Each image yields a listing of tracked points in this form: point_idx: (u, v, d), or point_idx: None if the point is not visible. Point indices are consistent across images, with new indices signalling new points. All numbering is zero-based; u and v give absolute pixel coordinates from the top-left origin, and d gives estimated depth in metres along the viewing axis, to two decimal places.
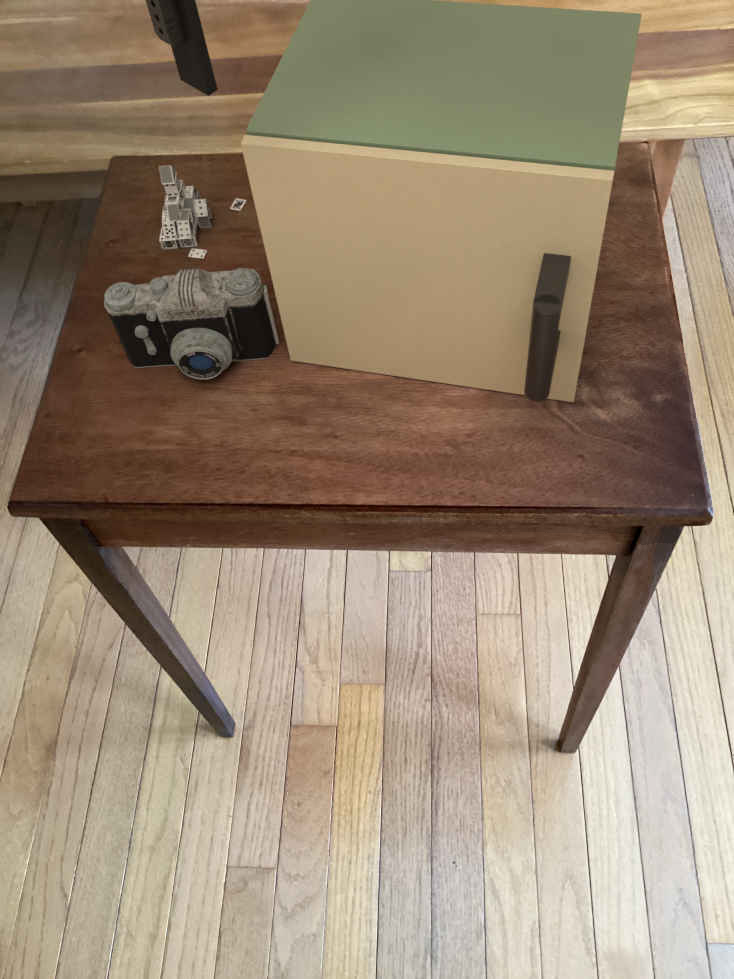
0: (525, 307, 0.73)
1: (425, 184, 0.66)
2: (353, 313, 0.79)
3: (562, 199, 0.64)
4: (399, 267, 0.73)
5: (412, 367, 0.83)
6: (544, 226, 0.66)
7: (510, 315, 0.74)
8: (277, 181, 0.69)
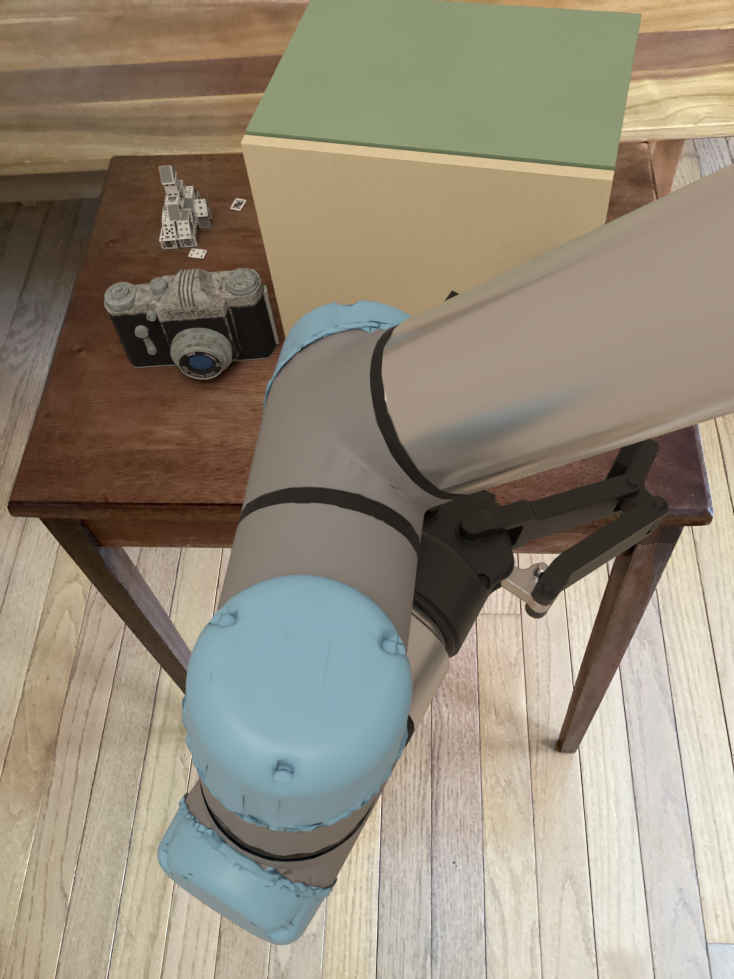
0: None
1: (425, 184, 0.66)
2: None
3: (562, 199, 0.64)
4: (399, 267, 0.73)
5: None
6: (544, 226, 0.66)
7: None
8: (277, 181, 0.69)
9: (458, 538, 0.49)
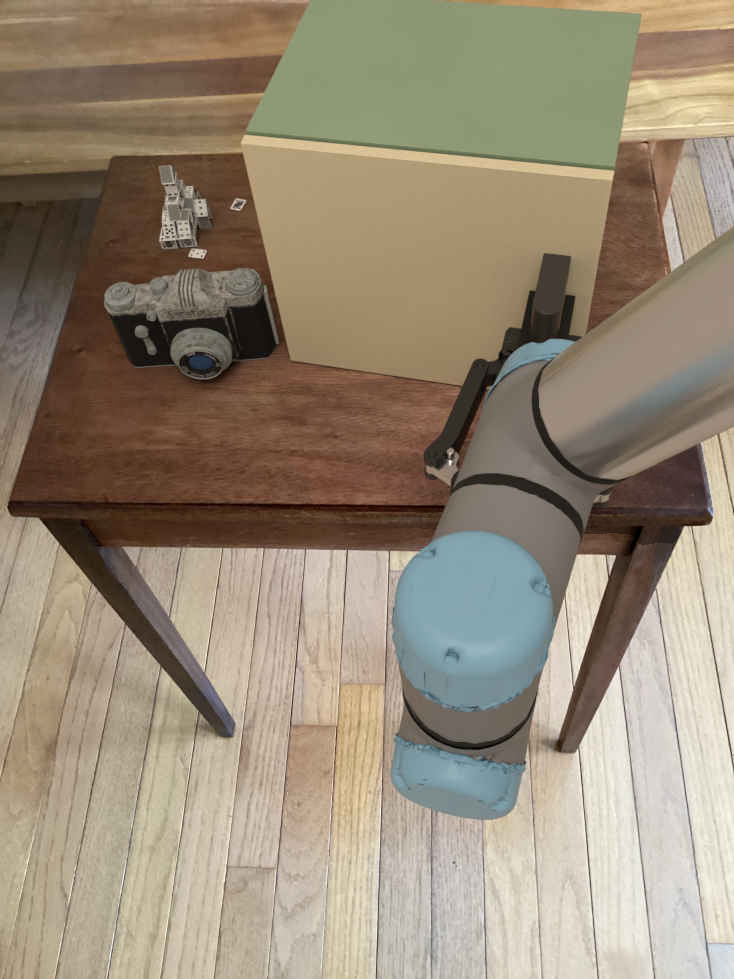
0: (525, 307, 0.73)
1: (425, 184, 0.66)
2: (353, 313, 0.79)
3: (562, 199, 0.64)
4: (399, 267, 0.73)
5: (412, 367, 0.83)
6: (544, 226, 0.66)
7: (510, 315, 0.74)
8: (277, 181, 0.69)
9: None
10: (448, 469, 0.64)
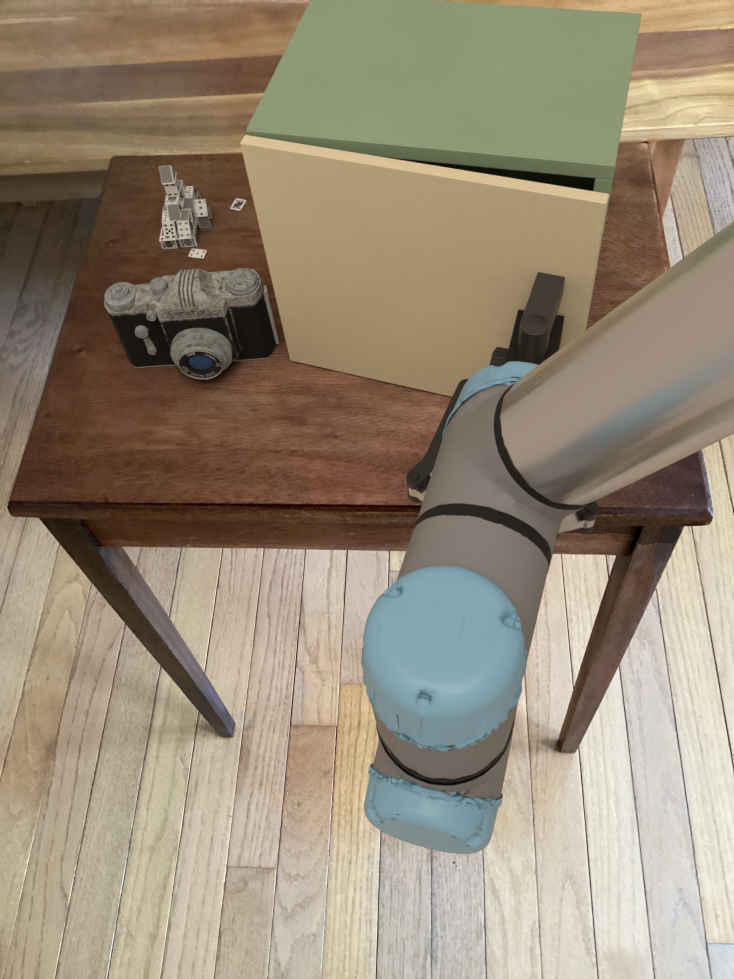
0: None
1: (420, 195, 0.65)
2: (351, 318, 0.79)
3: (556, 219, 0.63)
4: (395, 276, 0.73)
5: (408, 376, 0.83)
6: (538, 245, 0.65)
7: (505, 331, 0.74)
8: (276, 183, 0.69)
9: None
10: None
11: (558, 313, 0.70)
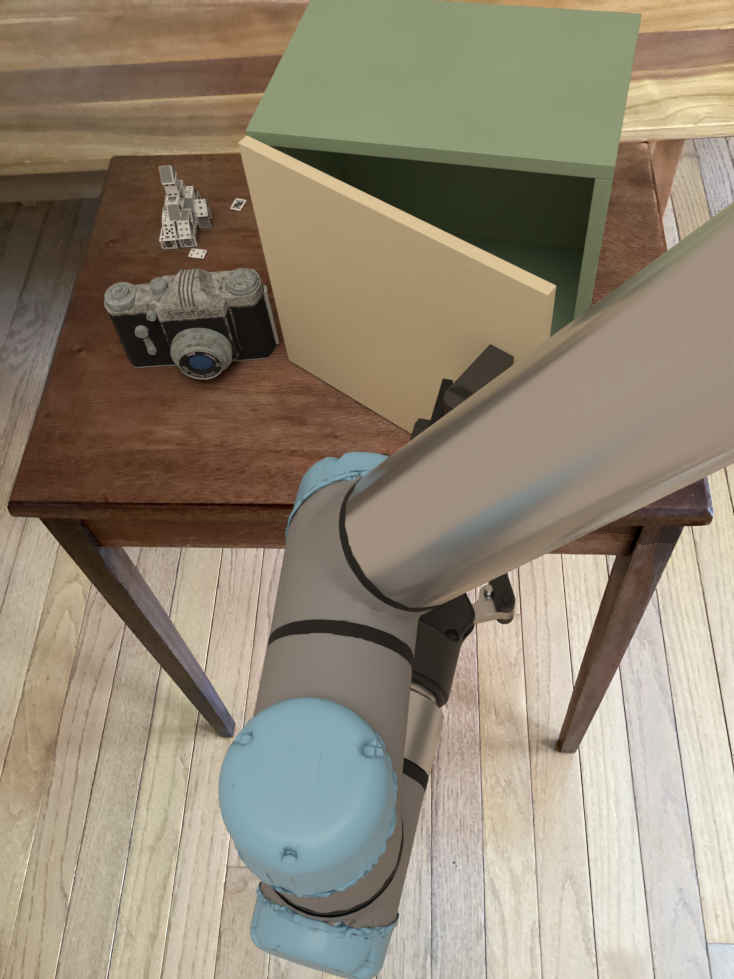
0: None
1: (386, 237, 0.63)
2: (335, 336, 0.78)
3: (503, 297, 0.59)
4: (369, 309, 0.71)
5: (385, 408, 0.81)
6: (489, 317, 0.62)
7: None
8: (268, 189, 0.68)
9: None
10: None
11: None
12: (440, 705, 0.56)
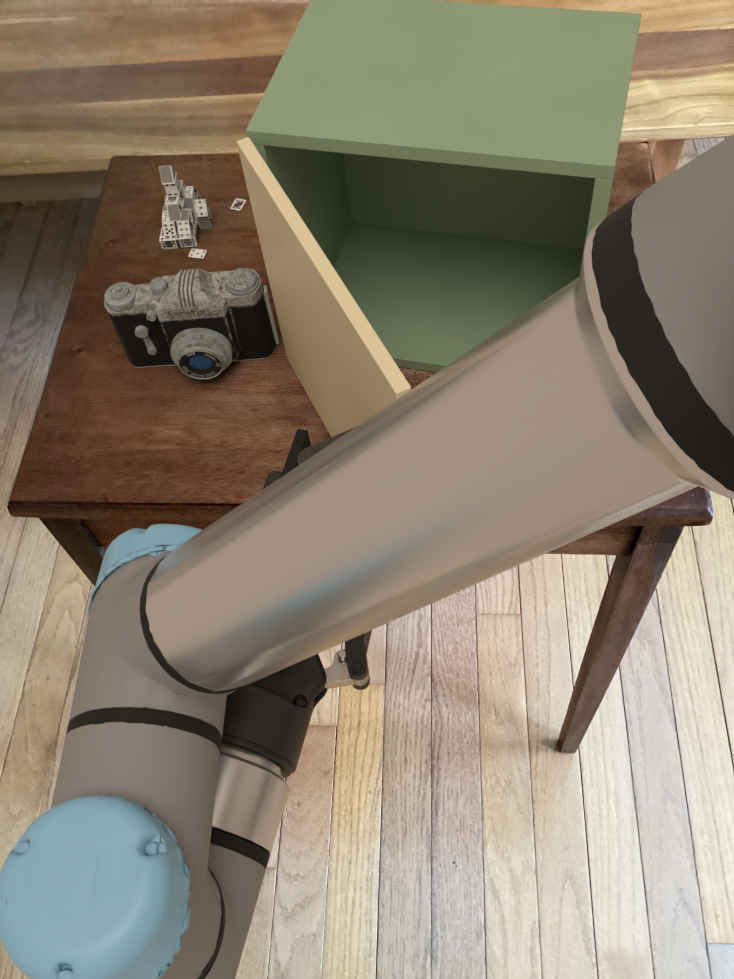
0: None
1: (313, 279, 0.61)
2: (304, 354, 0.77)
3: (375, 378, 0.56)
4: (315, 340, 0.70)
5: None
6: (371, 393, 0.59)
7: None
8: (255, 194, 0.68)
9: (278, 671, 0.56)
10: None
11: None
12: (288, 774, 0.55)
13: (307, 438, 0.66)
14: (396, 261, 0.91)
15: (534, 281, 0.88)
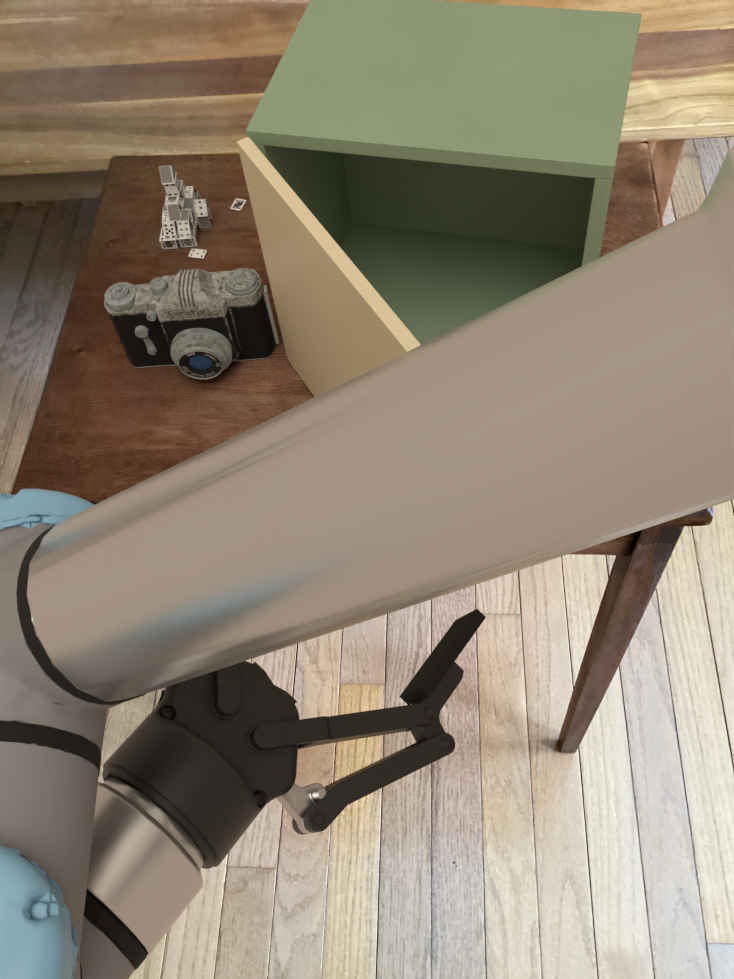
0: None
1: (328, 272, 0.62)
2: (310, 351, 0.77)
3: None
4: (326, 336, 0.70)
5: None
6: None
7: None
8: (257, 193, 0.68)
9: (247, 745, 0.47)
10: None
11: None
12: (201, 866, 0.46)
13: None
14: (396, 261, 0.91)
15: (534, 281, 0.88)
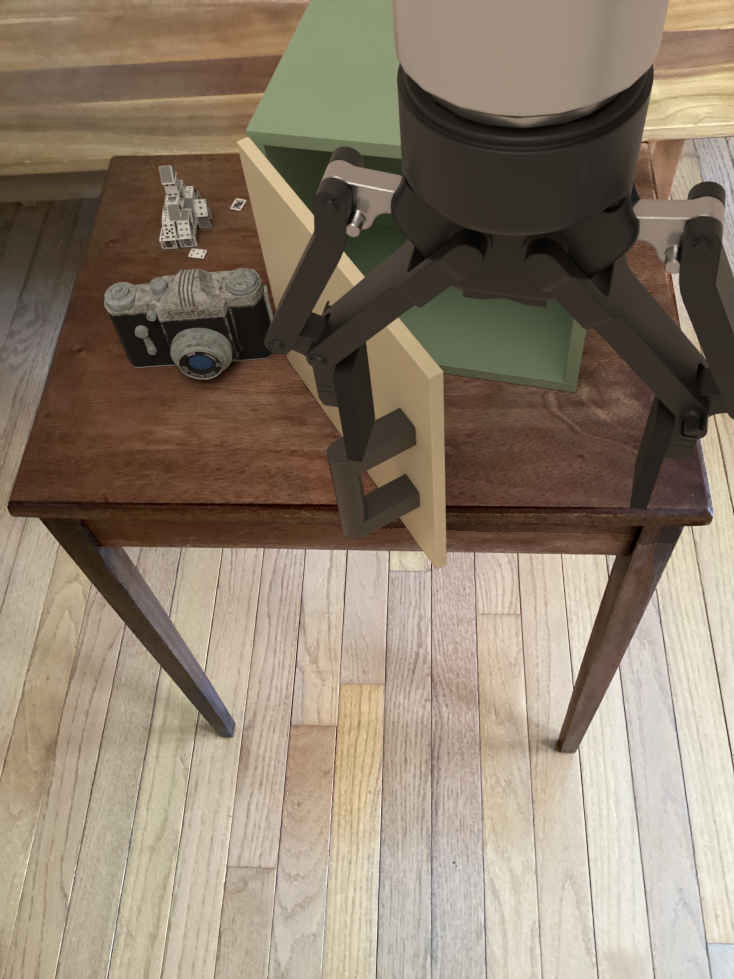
0: None
1: None
2: None
3: (403, 366, 0.57)
4: None
5: None
6: (396, 382, 0.59)
7: None
8: (257, 193, 0.68)
9: None
10: (659, 231, 0.30)
11: (416, 459, 0.64)
12: None
13: (632, 492, 0.43)
14: None
15: None
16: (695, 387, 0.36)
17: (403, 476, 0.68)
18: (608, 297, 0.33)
